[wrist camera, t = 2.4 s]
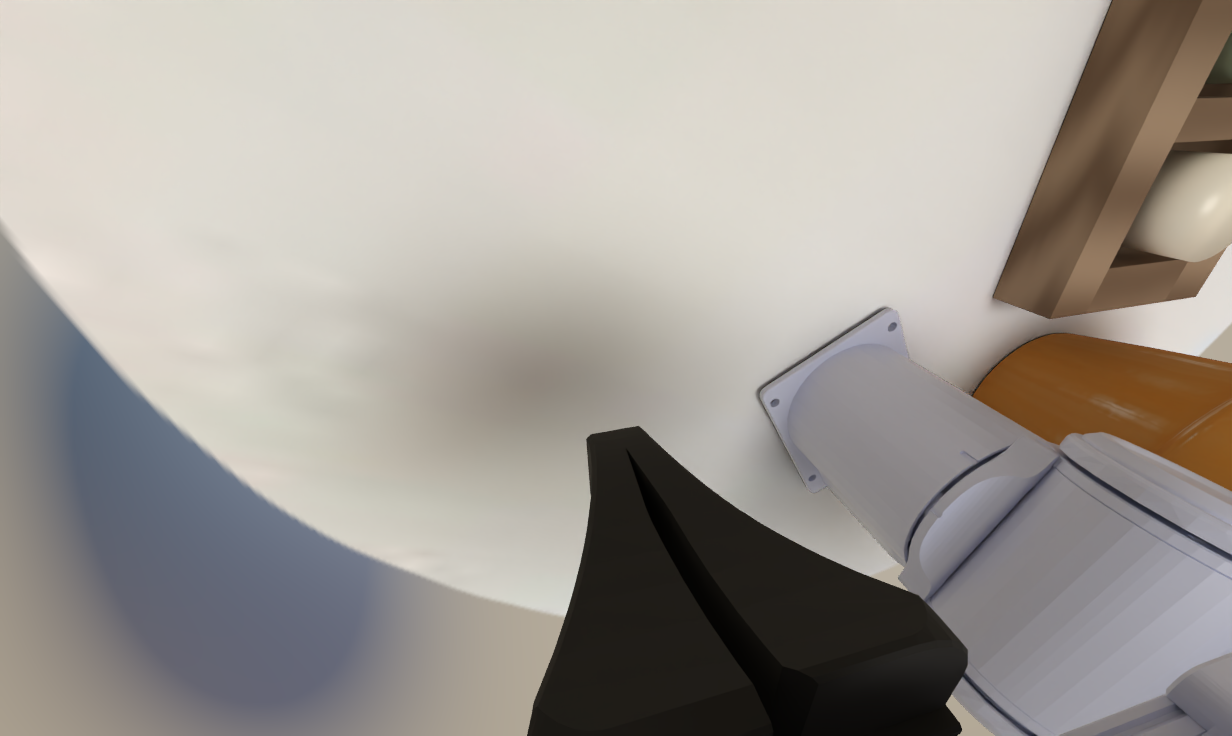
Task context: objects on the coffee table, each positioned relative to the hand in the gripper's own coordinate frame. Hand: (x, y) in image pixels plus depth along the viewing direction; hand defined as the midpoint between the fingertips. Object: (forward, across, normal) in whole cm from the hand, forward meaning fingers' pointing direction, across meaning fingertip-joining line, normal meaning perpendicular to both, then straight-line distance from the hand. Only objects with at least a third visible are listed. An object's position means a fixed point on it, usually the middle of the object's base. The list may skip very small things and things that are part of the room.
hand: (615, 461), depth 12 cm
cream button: (+8, -29, -3) cm, 30 cm away
